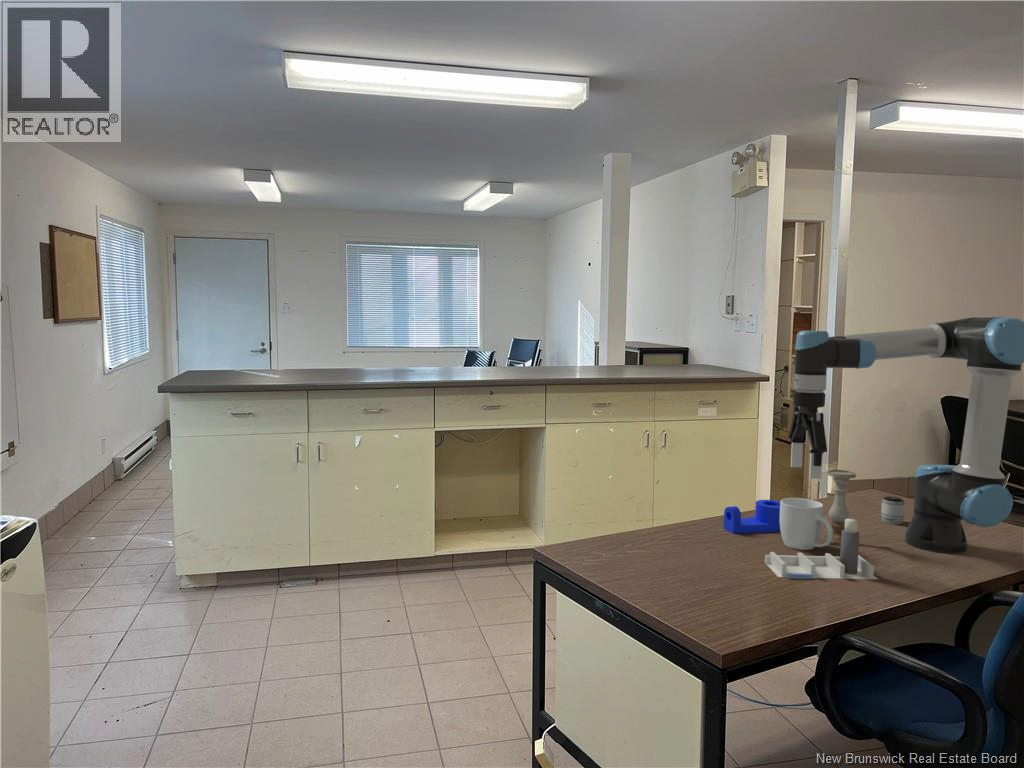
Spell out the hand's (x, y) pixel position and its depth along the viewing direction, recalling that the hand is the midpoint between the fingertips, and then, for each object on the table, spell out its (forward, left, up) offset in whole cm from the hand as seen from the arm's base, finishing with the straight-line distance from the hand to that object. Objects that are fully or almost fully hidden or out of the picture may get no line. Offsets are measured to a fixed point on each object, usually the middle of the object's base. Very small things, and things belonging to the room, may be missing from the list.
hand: (805, 472), depth 179 cm
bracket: (+3, -30, -24) cm, 39 cm away
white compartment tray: (-2, +8, -24) cm, 25 cm away
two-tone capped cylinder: (-9, +8, -23) cm, 26 cm away
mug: (-5, -11, -24) cm, 27 cm away
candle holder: (-18, -19, -24) cm, 35 cm away
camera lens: (-44, -40, -24) cm, 64 cm away
